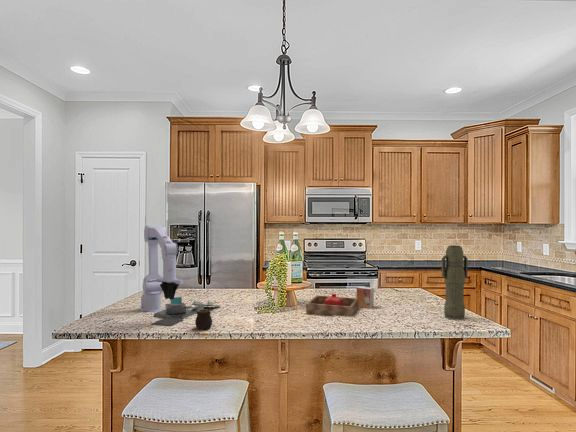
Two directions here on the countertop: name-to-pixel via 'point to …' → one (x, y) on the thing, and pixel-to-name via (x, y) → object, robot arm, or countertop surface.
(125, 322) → the countertop surface
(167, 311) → the grey slotted holder
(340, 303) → the butter dish
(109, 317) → the countertop surface
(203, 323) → the mate gourd
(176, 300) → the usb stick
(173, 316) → the base
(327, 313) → the brown wooden tray
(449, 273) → the thermos
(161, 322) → the key mat
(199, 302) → the metal bracket
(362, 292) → the small box
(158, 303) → the robot arm
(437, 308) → the countertop surface
